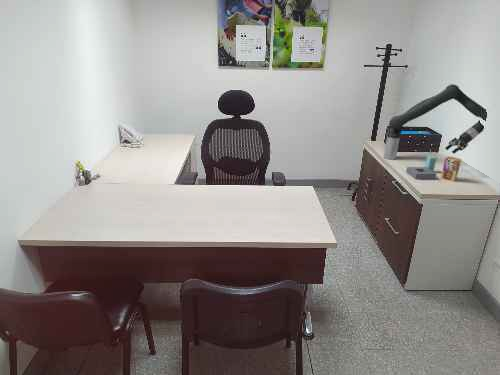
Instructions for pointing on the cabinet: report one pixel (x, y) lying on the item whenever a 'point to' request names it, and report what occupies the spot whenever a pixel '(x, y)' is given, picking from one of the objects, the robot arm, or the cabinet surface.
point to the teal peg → (430, 162)
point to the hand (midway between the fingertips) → (449, 150)
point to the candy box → (450, 168)
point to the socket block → (421, 173)
